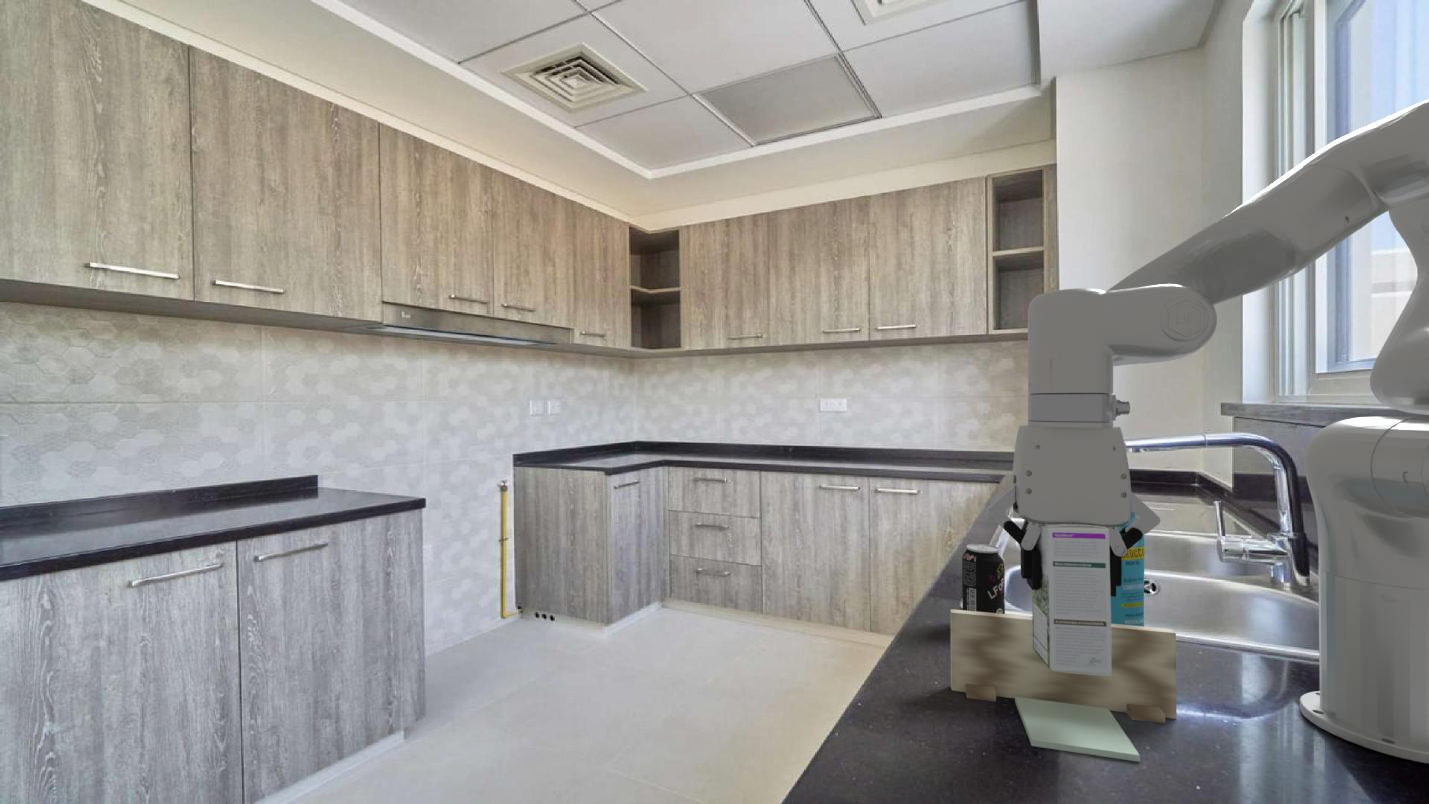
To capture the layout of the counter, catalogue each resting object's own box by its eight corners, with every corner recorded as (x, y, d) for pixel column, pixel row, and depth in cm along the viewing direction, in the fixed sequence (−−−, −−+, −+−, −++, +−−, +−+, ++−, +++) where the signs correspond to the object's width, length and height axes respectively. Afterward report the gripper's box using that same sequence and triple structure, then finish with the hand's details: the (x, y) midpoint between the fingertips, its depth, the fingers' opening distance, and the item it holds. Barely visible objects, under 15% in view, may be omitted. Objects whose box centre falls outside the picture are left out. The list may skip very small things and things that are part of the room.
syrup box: (1114, 677, 58) (1114, 526, 58) (1047, 672, 59) (1047, 524, 59) (1090, 653, 64) (1090, 516, 64) (1029, 649, 65) (1029, 513, 65)
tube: (1120, 669, 75) (1119, 515, 75) (1084, 654, 80) (1083, 508, 80) (1160, 659, 78) (1158, 511, 78) (1122, 646, 82) (1121, 505, 82)
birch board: (1166, 707, 66) (1165, 624, 66) (1182, 725, 62) (1181, 638, 62) (950, 680, 72) (949, 605, 72) (952, 695, 68) (952, 616, 68)
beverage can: (1003, 624, 91) (1003, 544, 91) (1006, 638, 85) (1005, 553, 85) (962, 619, 93) (961, 541, 93) (962, 632, 87) (961, 549, 88)
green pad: (1108, 714, 64) (1108, 708, 64) (1139, 761, 56) (1139, 755, 56) (1015, 702, 67) (1015, 696, 67) (1031, 745, 58) (1031, 739, 58)
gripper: (1153, 412, 62) (1154, 586, 62) (973, 411, 68) (973, 572, 68) (1186, 413, 55) (1186, 610, 55) (982, 412, 60) (982, 592, 60)
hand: (1069, 587), depth 61 cm, fingers closed on syrup box, 6 cm apart
